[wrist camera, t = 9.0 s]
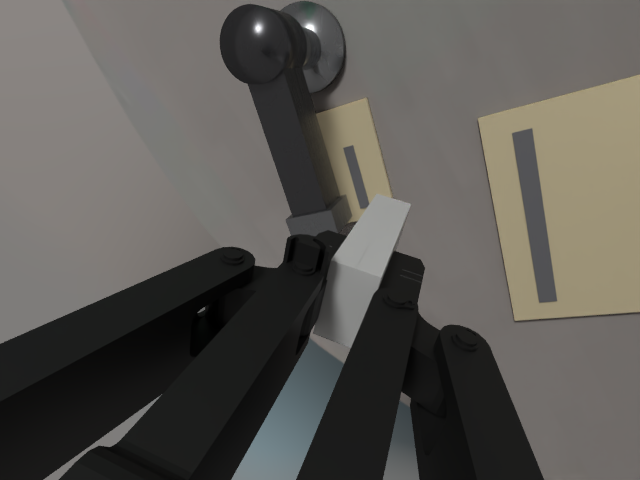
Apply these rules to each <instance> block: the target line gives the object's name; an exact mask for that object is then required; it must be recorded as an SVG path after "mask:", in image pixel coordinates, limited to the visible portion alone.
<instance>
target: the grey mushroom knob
mask: <svg viewBox="0 0 640 480" xmlns="http://www.w3.org/2000/svg"><path fill="white" fill-rule="evenodd" d="M280 11H282V12H285V13H288V14H290V15H291V16H293V17H294V18H295V19H296V20H297V21H298V22H299V23H300V25H301V26H302V28H303V30H304V33H305V36H306V40H307V56H306V60H305V63H304V65H303V67H302V69H303V72H304V76H305V79H306V82H307V86H308V89H309V93H314V92H317V91H320V90H322V89H324V88H326V87H327V86H328V85H330V84H331V83H332V82H333V81H334V80H335V78H336V77H337V76H338V74H339V72H340V70H341V68H342V66H343V62H344V58H345V47H346V46H345V38H344V34H343V30H342V28H341V26H340V24H339V22H338V20H337V19H336V17H335V16H334V15H333V14H332V13H331V12H330V11H329V10H328V9H326V8H325V7H323V6H321V5H319V4H316V3H313V2H307V1H300V2H295V3H292V4H289V5H288V6H286V7H284V8H283V9H282V10H280Z"/></svg>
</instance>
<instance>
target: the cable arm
mask: <svg viewBox="0 0 640 480" xmlns="http://www.w3.org/2000/svg"><path fill="white" fill-rule="evenodd" d="M220 50H221V54H222V58H223V60H224V63H225V65H226V67H227V68H228V70H229V71H230V72H231V73H232V75H234V76H235V77H236V78H237V79H239V80H240V81H242V82H244V83H247V84H248V86H249V89H250V92H251V95H252V98H253V101H254V104H255V107H256V110H257V113H258V116H259V118H260V121H261V124H262V127H263V130H264V133H265V136H266V139H267V142H268V145H269V148H270V151H271V154H272V157H273V160H274V163H275V166H276V169H277V172H278V175H279V178H280V181H281V183H282V186H283V189H284V192H285V195H286V198H287V201H288V204H289V207H290V210H291V213H292V215H291V216H289V217H288V218H287V219H286V222H287V225H288V228H289V231H290V234H291V236H292V235H297V234H307V235H311V236H317V234H318V233H321V232H324V231H327V230H330V231H333V232H336V233H340V231H341V230H342V229H343V227H344V226H345V225H346V224H347V222H348V221H349V220H350V219H351V217H352V213H351V210H350V206H349V203H348V199H347V196H346V194H345V195H341V196H340V193H339V190H338V187H337V183H336V180H335V177H334V173H333V170H332V167H331V163H330V160H329V156H328V153H327V150H326V146H325V143H324V140H323V136H322V133H321V130H320V126H319V123H318V119H317V116H316V113H315V109H314V106H313V103H312V99H311V96H310V93H309V89H308V86H307V82H306V79H305V76H304V72H303V69H302V67H303V65H304V63H305V60H306V56H307V40H306V36H305V33H304V30H303V28H302V26H301V25H300V23H299V22H298V21H297V20H296V19H295V18H294V17H293V16H291V15H290V14H288V13H285V12H282V11H278V10H274V9H270V8H266V7H262V6H258V5H253V4H247V5H242V6H240V7H238V8H236V9H234V10H233V11H232V12H231V13H230V14H229V15H228V17H227V18H226V20H225V22H224V24H223V26H222V29H221V34H220Z"/></svg>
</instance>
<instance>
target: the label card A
mask: <svg viewBox="0 0 640 480" xmlns="http://www.w3.org/2000/svg"><path fill="white" fill-rule="evenodd" d="M316 116H317V119H318V123H319V126H320V130H321V133H322V136H323V140H324V143H325V146H326V150H327V153H328V156H329V160H330V163H331V167H332V170H333V173H334V177H335V180H336V183H337V187H338V190H339V193H340V196H341V195H345V194H346V196H347V199H348V203H349V206H350V210H351V213H352V217H351V219H350V220H349V221H348V222H347V223H350V222H355V221H358V220H359V219H360V217H361V216H362V214H363V213H364V211H365V210H366V209H367V207H368V206H369V204H370V203H371V201H372V200H373V198H374V197H375V196H376V194H380V195H383V196H386V197H390V198H393V195H392V191H391V187H390V183H389V179H388V176H387V172H386V168H385V164H384V160H383V156H382V152H381V148H380V145H379V141H378V137H377V133H376V129H375V125H374V121H373V117H372V114H371V110H370V106H369V102H368V98H364V99H361V100H357V101H354V102H351V103H348V104H345V105H342V106H339V107H336V108H333V109H329V110H326V111H323V112H320V113H317V114H316Z"/></svg>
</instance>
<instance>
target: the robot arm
mask: <svg viewBox="0 0 640 480" xmlns="http://www.w3.org/2000/svg"><path fill="white" fill-rule="evenodd" d="M410 206H411V204H409V203H406V202H403V201H399V200H396V199H393V198H390V197H386V196H383V195H380V194H376V196H375V197H374V198H373V200H372V201H371V203H370V204H369V206H368V207H367V209H366V210H365V211H364V213H363V214H362V216H361V217H360V219H359V220H358V222H357V223H356V224H355V226H354V227H353V229H352V230H351V232H350V233H349V235H348V236H345V235H342V234H339V233H336V232H333V231H330V230H327V231H324V232H321V233H318V234H317V236H311V235H307V234H297V235H292V236H290V237H288V238H287V243H286V248H285V254H284V259H283V262H282V264H281V265H280V266H279V267H278V268H267V267H260V266H254V265H255V258H254V256H253V255H252V254H251V253H250V252H248V251H246V250H244V249H241V248H236V247H223V248H219V249H216V250H214V251H211V252H209V253H207V254H204V255H202V256H200V257H198V258H195V259H193V260H191V261H189V262H186V263H184V264H182V265H179V266H177V267H175V268H172V269H170V270H168V271H166V272H163V273H161V274H159V275H156V276H154V277H152V278H150V279H147V280H145V281H143V282H141V283H138V284H136V285H134V286H131V287H129V288H127V289H125V290H122V291H120V292H118V293H115V294H113V295H111V296H109V297H106V298H104V299H102V300H100V301H97V302H95V303H93V304H90V305H88V306H86V307H84V308H81V309H79V310H77V311H74V312H72V313H70V314H68V315H65V316H63V317H61V318H58V319H56V320H54V321H52V322H49V323H47V324H45V325H42V326H40V327H38V328H36V329H33V330H31V331H29V332H27V333H24V334H22V335H20V336H17V337H15V338H13V339H10V340H8V341H6V342H4V343H1V344H0V480H43V479H45V478H46V477H47V476H49V475H50V474H52V473H53V472H54V471H56V470H57V469H59V468H60V467H61V466H62V465H64V464H66V463H67V462H68V461H70V460H71V459H72V458H74V457H75V456H77V455H78V454H79V453H81V452H82V451H84V450H85V449H86V448H88V447H89V446H91V445H92V444H93V443H95V442H96V441H97V440H99V439H100V438H102V437H103V436H104V435H106V434H107V433H109V432H110V431H111V430H113V429H114V428H115V427H117V426H118V425H120V424H121V423H122V422H124V421H125V420H127V419H128V418H129V417H131V416H132V415H133V414H135V413H136V412H138V411H139V410H140V409H142V408H143V407H145V406H146V405H147V404H149V403H150V402H151V401H153V400H154V399H156V398H157V397H159V396H160V395H161V394H162V395H161V396H160V397H159V399H158V400H157V401H156V402H155V403H154V404H153V405H152V406H151V407H150V408H149V410H148V411H147V412H146V413H145V414H144V415H143V416H142V417H141V418H140V419H139V421H138V422H137V423H136V424H135V425H134V426H133V427H132V428H131V429H130V430H129V431H128V433H127V434H126V435H125V436H124V437H123V438H122V439H121V440H120V441H119V442H118V443H117V444H115V445H114V446H112V447H104V446H98V447H96V448H94V449H92V450H90V451H88V452H87V453H86V454H85V455H83V456H82V457H81V458H80V459H79V460H78V461H77V462H75V463H74V465H73V466H72V467H71V468H70V469H69V470H68V471H67V472H66V473H65V474H64V475H63V476H62V477H61V478H60V479H59V480H231V479H232V477H233V475H234V473H235V471H236V470H237V468H238V466H239V464H240V463H241V461H242V459H243V457H244V456H245V454H246V452H247V450H248V448H249V447H250V445H251V443H252V441H253V440H254V438H255V436H256V434H257V432H258V431H259V429H260V427H261V425H262V424H263V422H264V420H265V418H266V417H267V415H268V413H269V411H270V410H271V408H272V406H273V404H274V402H275V401H276V399H277V397H278V395H279V394H280V391H281V390H282V388H283V386H284V385H285V383H286V381H287V379H288V378H289V376H290V374H291V372H292V371H293V369H294V367H295V365H296V363H297V362H298V360H299V358H300V356H301V355H302V353H303V351H304V349H305V347H306V346H307V344H308V340H309V336H310V332H311V330H312V328H313V326H314V325H315V328H314V332H313V334H316V335H319V336H321V337H324V338H326V339H329V340H331V341H334V342H337V343H339V344H342V345H344V346H347V347H349V348H351V349H350V352H349V354H348V356H347V359H346V361H345V364H344V366H343V368H342V371H341V373H340V376H339V378H338V380H337V383H336V385H335V388H334V390H333V392H332V395H331V397H330V400H329V402H328V404H327V407H326V410H325V412H324V414H323V417H322V419H321V421H320V424H319V426H318V428H317V431H316V433H315V436H314V438H313V440H312V443H311V445H310V448H309V450H308V452H307V455H306V457H305V460H304V462H303V465H302V467H301V469H300V472H299V474H298V476H297V479H296V480H383V475H384V470H385V466H386V461H387V457H388V451H389V447H390V442H391V438H392V432H393V428H394V423H395V418H396V414H397V409H398V404H399V400H400V395H401V391H402V392H403V393H405V394H406V395H407V396H409V397H410V398H411V402H410V409H411V416H412V424H413V431H414V439H415V448H416V455H417V463H418V471H419V479H420V480H544V478H543V476H542V474H541V471H540V469H539V466H538V464H537V461H536V459H535V456H534V454H533V451H532V449H531V447H530V444H529V442H528V439H527V437H526V434H525V432H524V429H523V427H522V425H521V422H520V420H519V417H518V415H517V412H516V410H515V407H514V405H513V402H512V400H511V398H510V395H509V393H508V390H507V388H506V385H505V383H504V380H503V378H502V376H501V373H500V371H499V368H498V366H497V363H496V361H495V358H494V356H493V354H492V351H491V349H490V346H489V345H488V343H487V342H486V340H485V339H484V338H482V337H481V336H480V335H479V334H478V333H476V332H475V331H472V330H471V329H469V328H466V327H463V326H460V325H447V326H444V327H443V328H442V329H441V330H438V329H437V328H435V327H433V326H432V325H430V324H429V323H427V322H426V321H425V320H424V319H423V318H422V317H421V315H420V314H419V312H418V304H417V302H418V298H419V293H420V289H421V284H422V279H423V275H424V270H425V267H424V265H423V263H422V261H421V260H420V259H417V258H414V257H411V256H408V255H405V254H402V253H399V252H396V249H397V246H398V243H399V240H400V237H401V234H402V231H403V228H404V225H405V222H406V218H407V215H408V212H409V209H410ZM203 307H205V310H204V311H202V312H200V313H197V312H198V311H200V309H202V308H203ZM315 323H316V324H315Z"/></svg>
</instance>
